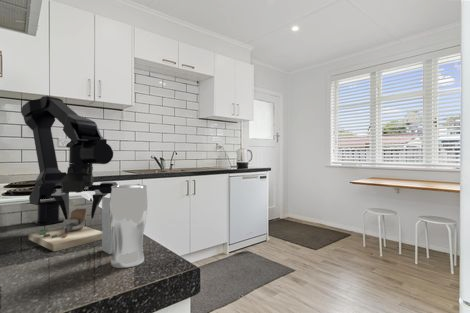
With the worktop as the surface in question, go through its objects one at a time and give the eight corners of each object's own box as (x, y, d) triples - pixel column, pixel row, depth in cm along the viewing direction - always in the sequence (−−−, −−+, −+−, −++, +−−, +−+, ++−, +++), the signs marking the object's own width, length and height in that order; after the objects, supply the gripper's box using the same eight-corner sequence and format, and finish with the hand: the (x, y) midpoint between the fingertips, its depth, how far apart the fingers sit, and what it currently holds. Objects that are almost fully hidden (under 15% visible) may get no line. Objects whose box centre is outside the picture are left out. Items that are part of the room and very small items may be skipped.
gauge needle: (76, 233, 63) (76, 217, 63) (55, 234, 62) (56, 218, 62) (90, 221, 75) (90, 207, 76) (72, 222, 74) (73, 208, 74)
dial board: (28, 239, 65) (28, 231, 65) (77, 229, 74) (77, 222, 74) (53, 251, 56) (54, 242, 56) (105, 238, 66) (105, 230, 66)
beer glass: (133, 271, 47) (134, 188, 47) (100, 267, 49) (101, 187, 49) (153, 257, 54) (154, 185, 54) (123, 254, 55) (124, 184, 56)
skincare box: (127, 243, 62) (127, 193, 62) (136, 248, 59) (137, 195, 59) (100, 250, 57) (101, 195, 58) (109, 255, 55) (110, 198, 55)
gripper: (28, 163, 63) (26, 228, 63) (111, 164, 68) (110, 223, 68) (47, 163, 74) (46, 217, 74) (118, 163, 79) (117, 214, 79)
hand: (79, 218), depth 73 cm, fingers open, 6 cm apart
